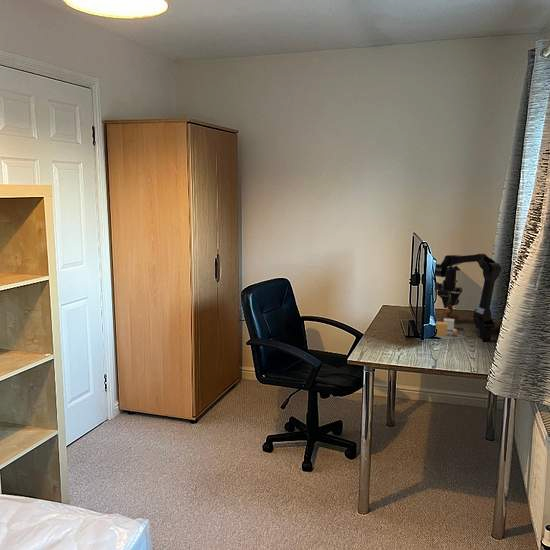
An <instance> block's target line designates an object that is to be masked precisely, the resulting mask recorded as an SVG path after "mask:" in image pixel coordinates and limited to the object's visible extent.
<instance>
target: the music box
mask: <svg viewBox="0 0 550 550" xmlns="http://www.w3.org/2000/svg"><path fill="white" fill-rule="evenodd" d="M442 303H443V301H442ZM459 303H460V298H458V299H457V301H456V303H455V305H454V306H456V305H457V306H458V304H459ZM454 306H452V303H451V297H450V300H449V303H448V305H447V308H446V310H445V312H444V313H441V314H440V315H439V322H444V318H447V319H454V325H456V324H458V323H459V319H460V317H459V316H458V315H457V314H455V313H454V314H453V313H452V312H453V311H454V309H453V308H454ZM455 323H456V324H455Z"/></svg>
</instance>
